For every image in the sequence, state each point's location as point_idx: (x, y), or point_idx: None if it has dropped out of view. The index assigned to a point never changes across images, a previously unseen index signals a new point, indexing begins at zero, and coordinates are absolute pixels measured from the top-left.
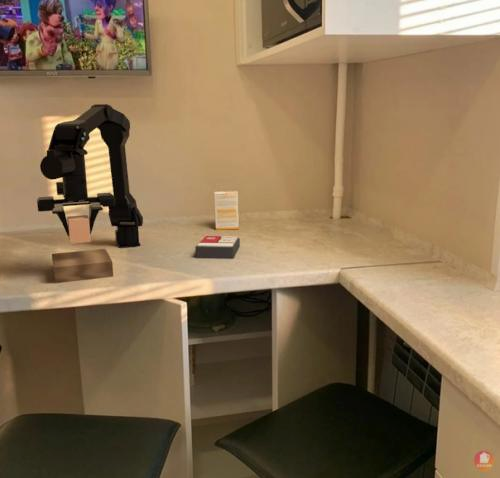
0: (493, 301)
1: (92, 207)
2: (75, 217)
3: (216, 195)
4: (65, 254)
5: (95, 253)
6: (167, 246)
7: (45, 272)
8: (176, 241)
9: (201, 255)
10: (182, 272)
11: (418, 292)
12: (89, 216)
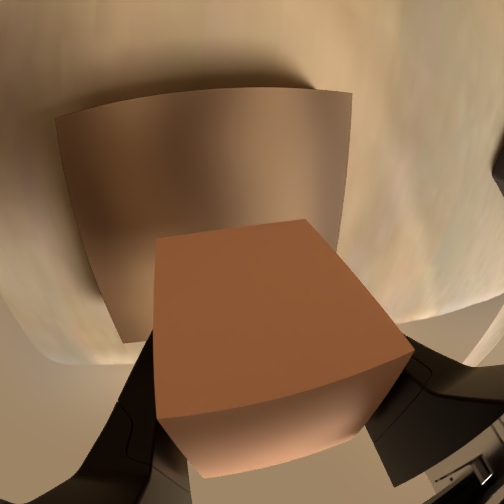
0: (485, 356)
1: (427, 474)
2: (269, 436)
3: None
4: (129, 149)
5: (293, 175)
6: (484, 28)
7: (60, 170)
8: (496, 4)
9: (500, 183)
10: (434, 271)
11: (485, 345)
12: (392, 399)
